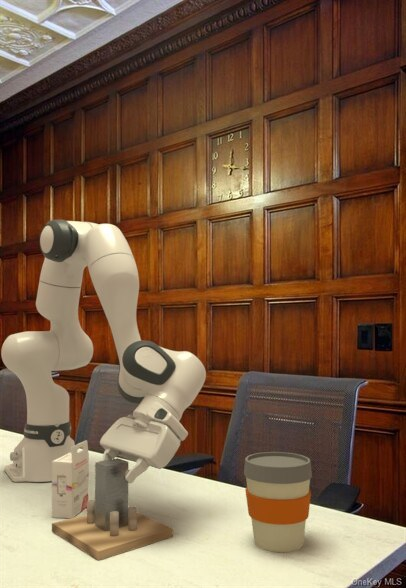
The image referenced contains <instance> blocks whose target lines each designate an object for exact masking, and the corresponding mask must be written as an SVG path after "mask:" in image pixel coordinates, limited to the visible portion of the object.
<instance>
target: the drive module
mask: <svg viewBox="0 0 406 588" xmlns="http://www.w3.org/2000/svg"><path fill="white" fill-rule="evenodd" d="M94 465H95V466H94V467H95V469H94V470H95V471H94V475H95V477H94V483H95V484H94V485H95V487H94V488H95V489H94V500H95V526H96V527H98V528H100V529H102V530H104V531H109V530H110V512H112V511H118V512H119V528H120V527H123V526H127V525H128V508H129V483H128V482H126V481H125V480H124V479H123V475H124V474H125V472H126V471H127V469H128V470H129V461H127V460H124V459H122V458H119V457H117V458H116V457H115V458H114V459H111V460H105V461H102V460H101V461H95V464H94Z"/></svg>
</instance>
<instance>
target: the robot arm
mask: <svg viewBox="0 0 406 588" xmlns="http://www.w3.org/2000/svg"><path fill="white" fill-rule="evenodd" d="M39 248H40V249H39V250H40V251H41V254H43V256H44V260H43V263H42V266H41V270H40V275H39V282H38V288H37V293H36V300H35V307H36V311H37V312H38V313H39V314H40V315H41V316H42V317H43V318H45V319H46V320H48V321H49V322H50V328H49V329H50V330H45V331H43V330H42V331H40V330H39V331H38V330H36V331H32V330H31V331H30V330H29V331H23V332H22V331H21V332H17V333H14V334H13V333H12V334H10V335H8V336H7V337H6V338H5V340H4V342H3V344H2V347H1V350H0V351H1V352H0V354H1V356H0V357H1V360H2V362H3V364H4V366H5V367H6V368H7V369H8V370H9V371H11V372H12V373H14V375H15V376H16V377H17V378H18V379H19V381H20V382H21V384H22V386H23V389H24V391H25V397H26V423H25V424H24V428H23V438H22V439H21V440H20V441H19V443H18V444H17V445H16V446H15V447H14V449H13V451H12V452H10V454H9V458H10V459H9V460H10V461H11V462H12V463H11V464H7V465H5V466H4V468H3V470H4V472H5V473H6V474H7V476H8V477H9V478H10V479H11V481H12V482H15V483H19V482H21V483H22V482H31V483H32V482H33V483H44V482H45V483H46V482H52V461H54V460H56V459H58V458H60V457H62V456H64V455H66V454H68V453H71V447H73V446H75V445H76V443H75V441H74V439H73V438H71V431H72V425H71V421H70V394H69V392H68V391H67V389H66V388H65V387H63V386H61V385H59V384H58V383H56V382H54V380H53V376H52V372H54V371H55V372H58V371H70V370H76V369H79V368H83V367H85V366H87V365H88V364H90V362H91V360H92V359H93V354H94V344H93V341H92V340H91V338H90V337H89V335H87V334H86V332H85V331H84V330H83V328H82V326H81V324H80V320H79V304H80V303H79V302H80V296H81V290H82V284H83V277H84V276H83V275H84V270H85V268H86V267H87V270H88V272H89V276H90V280H91V283H92V285H93V287H94V290H95V292H96V294H97V297H98V299H99V301H100V304H101V307H102V309H103V312H104V314H105V318H106V319H107V322H108V325H109V327H110V332H111V335H112V336H111V337H112V339H113V343H114V348H115V351H116V355H117V360H118V366H119V367H118V373H117V380H116V385H117V386H116V388H117V390H118V392H119V394H120V395H121V397H122V398H123V399H124V400H126V401H128V402H129V403H132V404H137V405H138V406H136V408H135V409H134V410H133V412H132V413H130V414H128V415H127V416H123V417H120V418H118V419H117V420H116V421H115V422H114V423H112V425H110V428H108V430H106V432H105V433H104V434H103V435H102V436H101V438H100V441H99V444H100V446H101V447H102V448H103V449H104V452H103V454H102V458H101V461H105V460H111V459H116V457H121V458H124V459H127V460H131V461H134V462H135V465H133V466H132V467H131V468H130V469H129V468H128V469H127V471H126V472H125V474H124V475H123V479H124V480H125V481H126V482H128V484H133V483H134V482H135V480H136V479H137V478H138V477H139V476H141V475H142V474H143V473H145V472H146V471H147V470H148V469H149V467H151V468H155V469H157V470H162V469H163V468H165V467H166V466H167V465H168V464H170V461H171V460H172V459H173V457H174V456H175V455H176V453H177V452H178V449H179V448H180V446H181V442H183V441H185V440H186V439H187V437H188V435H189V432H188V431H187V429H185V427H184V426H183V424H182V423H181V422H180V421H181V419H182V416H183V413H184V412H185V411H186V409H187V408H188V407H190V406H191V405H192V403H193V402H194V401H195V399H196V398H197V396H198V394H199V393H200V391H201V390H202V388H203V386H204V384H205V382H206V377H207V371H206V368H205V365H204V364H203V362H202V361H201V359H199V357H198V356H197V355H195V354H194V353H192V352H190V351H188V350H187V351H186V350H183V351H177V350H171V349H168V348H164V347H162V346H159V345H158V344H157V343H155V342H153V341H151V340H146V339H145V340H142V339H141V334H140V332H139V328H138V321H137V309H138V299H139V294H140V293H139V292H140V291H139V290H140V278H139V272H138V266H137V263H136V259H135V257H134V255H133V252H132V250H131V247H130V245H129V242H128V241H127V239H126V237H125V235H124V234H123V232H122V231H121V230H120V228H119V227H118V226H116V225H114V224H111V223H100V224H98V223H95V222H90V221H78V220H77V221H76V220H65V219H53V220H48V221H47V222H46V223H45V225H44V226H43V227H42V229H41V231H40V235H39Z"/></svg>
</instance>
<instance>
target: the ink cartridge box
mask: <svg viewBox="0 0 406 588" xmlns="http://www.w3.org/2000/svg"><path fill="white" fill-rule="evenodd" d="M88 445H89V444H88V440H87V439H86V440H84V441H81V442H78V443H77V444H75V446H73V447H71V453H68V454H66V455H64V456H62V457H60V458H58V459H56V460H54V461H52V481H51V518H56V519H57V518H61V519H70V518H74V517H77V515H79V514H80V513H81V512H83V511H84V510H85V509H87V501H89V490H90V489H89V487H90V485H89V483H90V482H89V478H90V477H89V475H90V474H89V472H90V471H89V470H90V468H89V465H90V464H89V463H90V462H89V461H90V459H89V446H88ZM80 449H82V450H81V451H79V452H78V450H80Z"/></svg>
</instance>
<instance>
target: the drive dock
mask: <svg viewBox="0 0 406 588" xmlns="http://www.w3.org/2000/svg"><path fill="white" fill-rule="evenodd" d="M51 532H52V533H54V534H56V535H57V536H59V537H60V538H61V539H64V540H66V542H68V543H70V544H72V545H73V546H74V547H76V548H78V549H79V550H82V551H83V552H84V553H86V554H87V555H89V556H91V557H92V558H94V559H95V560H97V561H101V560H104V559H107V558H111V557H113V556H116V555H119V554H123V553H125V552H129V551H132V550H135V549H138V548H141V547H145V546H147V545H151V544H154V543H157V542H160V541H163V540H167V539H169V538H173V536H174V528H173V527H170V526H169V525H166V524H164V523H161V522H160V521H157V520H155V519H153V518H150V517H148V516H146V515H144V514H142V513H140V512H138V507H137V506H134V505H133V506H132V505H131V506H128V525H127V526H123V527H120V528H119V512H118V511H112V512H110V530H109V531H104V530H102V529H100V528H98V527H96V526H95V499H90V500H89V499H88V501H87V507H86V514H83V515H82V514H81V515H79V516H75V517H74V518H65V519H64V520H63V519H62V520H60V521H54V522H52V523H51Z"/></svg>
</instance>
